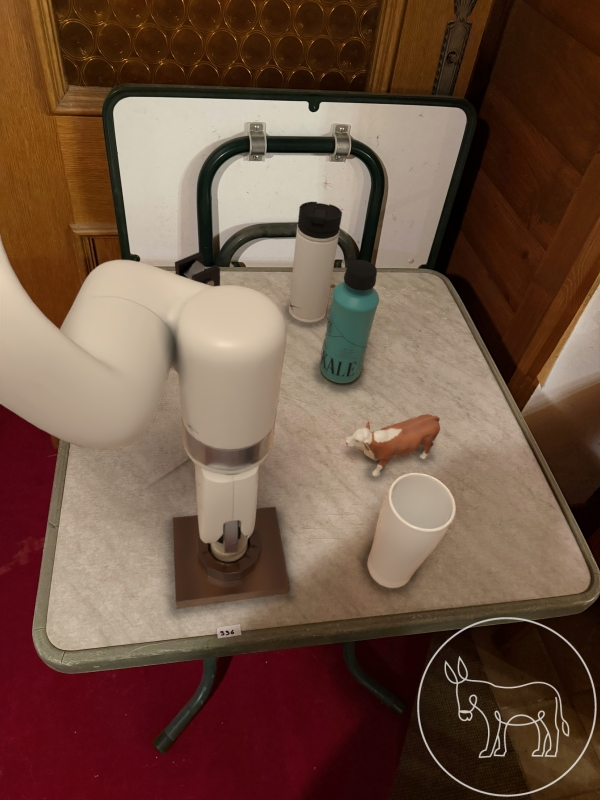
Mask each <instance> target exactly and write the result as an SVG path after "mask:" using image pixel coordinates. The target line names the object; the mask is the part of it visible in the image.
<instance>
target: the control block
mask: <svg viewBox="0 0 600 800" xmlns="http://www.w3.org/2000/svg"><path fill="white" fill-rule="evenodd" d="M277 513H278V512H277V508H276V506H270V507H260V508H256V517H255V525H254V530H253V533H252V535H251V536H250V537H249V538H248V543H247V550H246V552H245V554H244V555H243V556H242V557H241V558H240V559H238V560H236V561H232V562H224V561H221V560H219V559H217V558H216V557H215V556H214V555H213V553H212V551H211V544H210V543H204V542H203V541H202V540H201V539H200V534H199V524H198V514H195V515H185V516H176V517H172V537H173V540H172V541H173V565H174V567H173V569H174V591H175V592H174V594H175V595H174V596H175V605H176V609H177V610H178V609H185V608H186V609H187V608H193V607H201V606H208V605H215V604H221V603H222V604H223V603H230V602H237V601H244V600H251V599H258V598H259V599H260V598H265V597H266V598H267V597H273V596H281V595H288V594H289V590H290V583H289V577H288V572H287V567H286V561H285V560H286V559H285V555H284V549H283V543H282V538H281V532H280V526H279V525H280V524H279V520H278V515H277Z"/></svg>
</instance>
